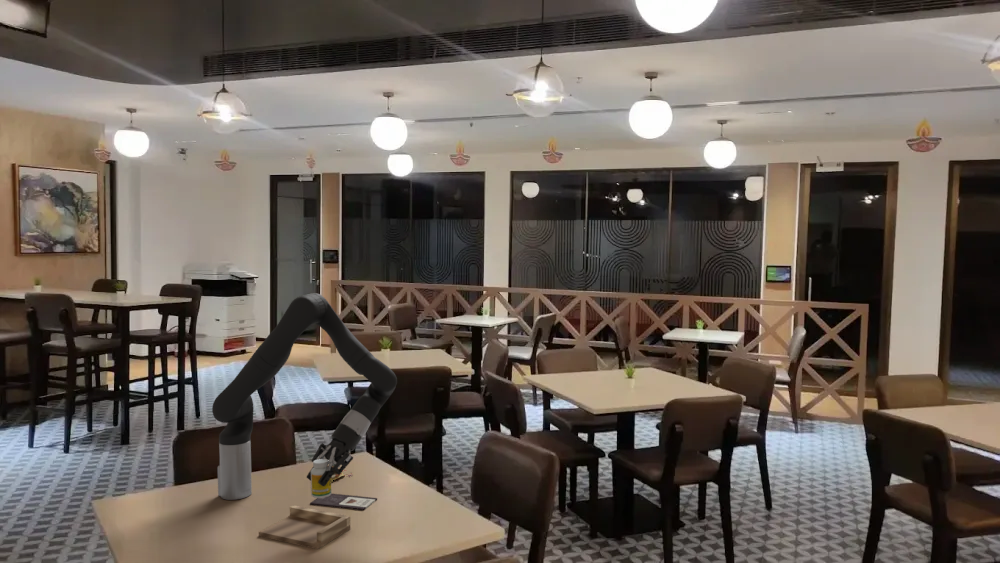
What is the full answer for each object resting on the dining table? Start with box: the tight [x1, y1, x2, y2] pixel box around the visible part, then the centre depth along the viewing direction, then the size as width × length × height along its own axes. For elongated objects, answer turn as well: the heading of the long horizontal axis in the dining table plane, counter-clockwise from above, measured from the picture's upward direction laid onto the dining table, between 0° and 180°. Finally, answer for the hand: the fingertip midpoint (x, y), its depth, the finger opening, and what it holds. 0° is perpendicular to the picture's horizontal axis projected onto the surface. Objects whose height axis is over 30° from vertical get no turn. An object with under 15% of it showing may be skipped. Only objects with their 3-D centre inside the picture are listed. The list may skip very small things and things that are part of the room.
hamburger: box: [327, 465, 352, 483], centre depth 239 cm, size 14×14×6 cm
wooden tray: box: [258, 505, 351, 550], centre depth 193 cm, size 20×14×4 cm
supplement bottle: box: [310, 458, 332, 499], centre depth 193 cm, size 5×5×10 cm
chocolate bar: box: [309, 492, 378, 511], centre depth 216 cm, size 9×1×18 cm
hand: (315, 481), depth 191 cm, fingers closed on supplement bottle, 5 cm apart
